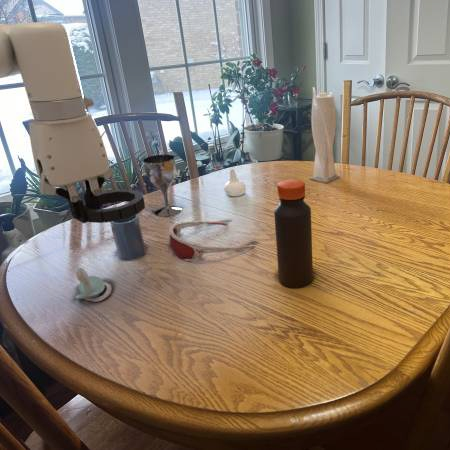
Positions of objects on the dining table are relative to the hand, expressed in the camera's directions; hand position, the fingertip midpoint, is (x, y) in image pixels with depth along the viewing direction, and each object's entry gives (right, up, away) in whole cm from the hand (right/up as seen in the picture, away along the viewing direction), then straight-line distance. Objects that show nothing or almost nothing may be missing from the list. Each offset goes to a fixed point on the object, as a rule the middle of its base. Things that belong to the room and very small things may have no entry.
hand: (88, 218), depth 75 cm
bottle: (+36, -12, +11) cm, 39 cm away
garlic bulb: (+17, +8, +56) cm, 59 cm away
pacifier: (-3, -15, +9) cm, 18 cm away
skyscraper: (+44, +14, +66) cm, 81 cm away
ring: (+3, +2, +3) cm, 5 cm away
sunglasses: (+15, -6, +26) cm, 31 cm away
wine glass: (0, +2, +45) cm, 46 cm away
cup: (-1, -8, +23) cm, 25 cm away
